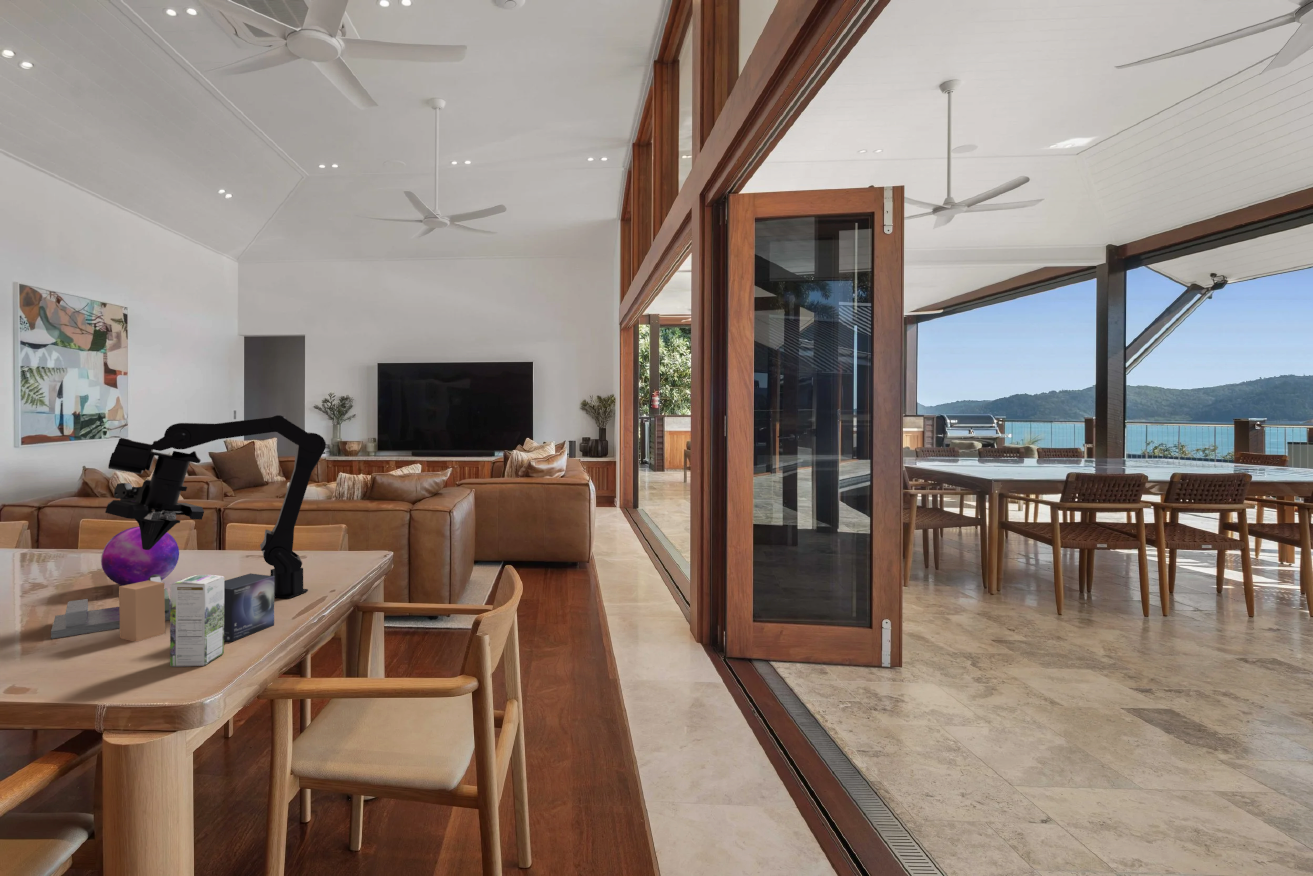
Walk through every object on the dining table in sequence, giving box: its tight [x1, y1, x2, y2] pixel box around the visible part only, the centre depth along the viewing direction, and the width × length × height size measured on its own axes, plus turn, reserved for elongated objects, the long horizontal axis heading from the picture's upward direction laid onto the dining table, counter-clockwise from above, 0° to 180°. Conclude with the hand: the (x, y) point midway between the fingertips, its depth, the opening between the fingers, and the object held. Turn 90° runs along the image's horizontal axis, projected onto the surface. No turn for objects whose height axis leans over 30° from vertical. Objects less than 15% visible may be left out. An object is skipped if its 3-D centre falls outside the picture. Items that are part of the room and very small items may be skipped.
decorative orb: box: [100, 525, 180, 586], centre depth 157 cm, size 15×15×15 cm
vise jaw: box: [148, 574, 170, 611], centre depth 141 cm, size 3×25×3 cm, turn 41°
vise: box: [50, 598, 170, 640], centre depth 132 cm, size 22×12×4 cm, turn 131°
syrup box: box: [169, 574, 225, 667], centre depth 110 cm, size 6×6×14 cm
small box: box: [224, 572, 275, 643], centre depth 125 cm, size 11×6×10 cm, turn 168°
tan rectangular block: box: [118, 580, 166, 642], centre depth 122 cm, size 5×5×10 cm
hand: (146, 549), depth 136 cm, fingers closed
